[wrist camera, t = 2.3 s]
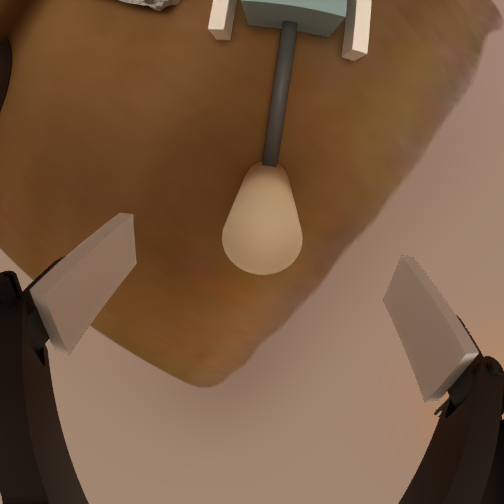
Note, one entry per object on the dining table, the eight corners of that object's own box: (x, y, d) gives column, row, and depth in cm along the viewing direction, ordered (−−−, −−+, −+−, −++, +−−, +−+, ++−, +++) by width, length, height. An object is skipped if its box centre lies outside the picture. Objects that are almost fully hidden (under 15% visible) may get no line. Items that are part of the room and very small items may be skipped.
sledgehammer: (225, 197, 25) (192, 264, 15) (258, -31, 14) (247, -106, 3) (300, 208, 25) (320, 282, 15) (334, -19, 14) (371, -85, 3)
